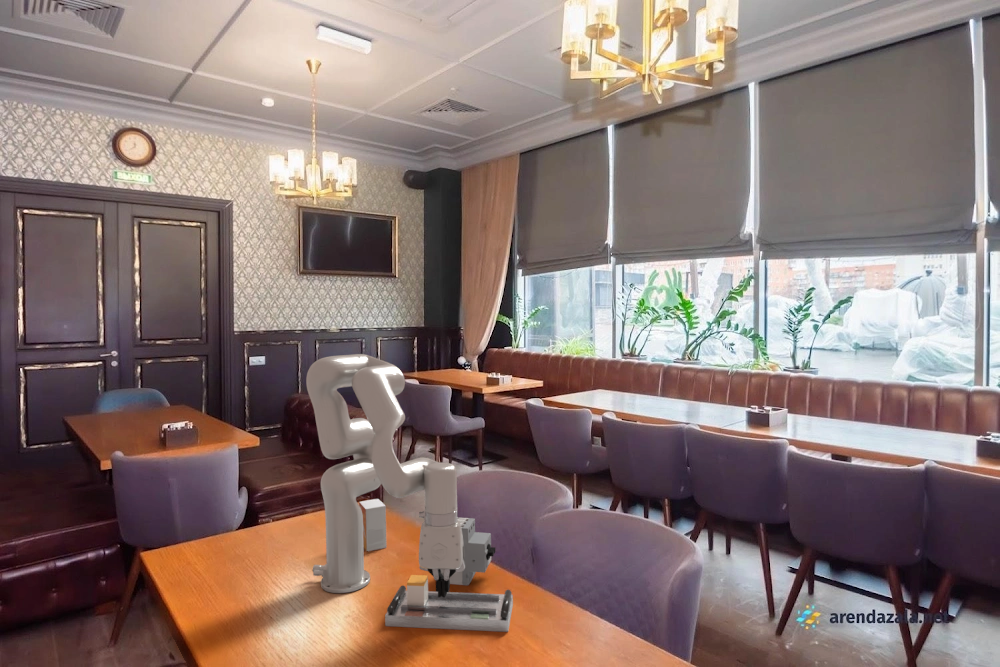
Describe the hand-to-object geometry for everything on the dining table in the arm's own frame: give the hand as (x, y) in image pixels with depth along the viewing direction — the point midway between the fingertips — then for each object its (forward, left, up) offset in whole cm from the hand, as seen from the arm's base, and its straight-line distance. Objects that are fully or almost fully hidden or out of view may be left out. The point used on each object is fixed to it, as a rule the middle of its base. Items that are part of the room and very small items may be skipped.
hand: (442, 594), depth 136 cm
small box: (-30, +39, -5) cm, 50 cm away
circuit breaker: (+3, +19, -5) cm, 20 cm away
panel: (+2, 0, -5) cm, 5 cm away
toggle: (-6, 0, -2) cm, 6 cm away
